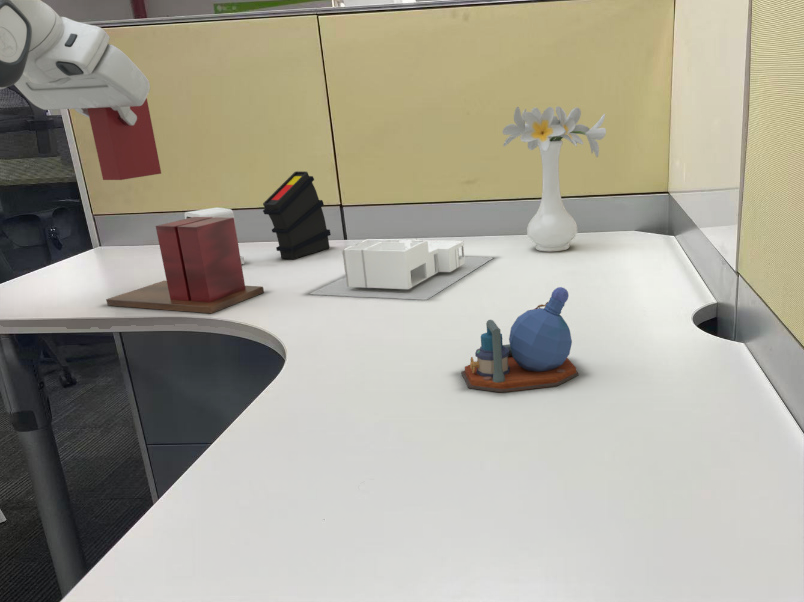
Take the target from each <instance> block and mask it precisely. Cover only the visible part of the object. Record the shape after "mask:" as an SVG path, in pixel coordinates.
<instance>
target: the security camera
mask: <svg viewBox="0 0 804 602" xmlns="http://www.w3.org/2000/svg"><path fill="white" fill-rule="evenodd" d="M191 217H213V218H214V217H226V218H234V222H235V223H236V219H235V213H234V211H233V209H231V208H224V207H211V208H203V209H199V210H192V211H191V210H190V211H185V212H184V219H187V218H191ZM235 228H236V229H237V225H236V224H235ZM236 234H237V235H238V232H237V230H236ZM237 240H238V241H239V238H238V236H237ZM240 258H241V264H242V265H245V264H246V263H245V257H244V256H242V255H240Z"/></svg>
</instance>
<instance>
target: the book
mask: <svg viewBox="0 0 804 602" xmlns="http://www.w3.org/2000/svg"><path fill="white" fill-rule="evenodd" d="M87 109H88V113H89V118H88V119H89V122H90V127H91V131H92V137H93V140H94V145H95V149H96V154H97V159H98V163H99V167H100V172H101V177H102V180H103V181H123V180H130V179H136V178H143V177H148V176H154V175H155V176H156V175H161V174H162V169H161V164H160V159H159V154H158V148H157V144H156V139H155V133H154V127H153V123H152V122H153V121H152V118H151V112H150V108H149V103H148V97H147V98H146V99H145V101H144V103H143V104H142V105H141V106H130V110H131V111H132V112H133V113H134V114H135V115H136V116H137V120H136V122H135V124H134V125H130V126H125V125H123V124H122V122H120V121H119V120H118V119H117V118H118V116H119V113H118V111H117V110H113V109H112V108H111V107H105V108H87Z"/></svg>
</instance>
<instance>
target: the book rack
mask: <svg viewBox="0 0 804 602" xmlns="http://www.w3.org/2000/svg"><path fill="white" fill-rule="evenodd" d="M234 219H235V217H234V218H226V217H214V218H213V217H191V218H187V219H185V218H184V219H180V220H175V221H171V222H166V223H163V224H158V225H155V230H156V235H157V240H158V244H159V249H160V250H159V251H160V256H161V260H162V264H163V270H164V273H165V274H164V275H165V279H166V280H162V281H159V282H156V283H151V284H150V285H146V286H143V287H140V288H137V289H134V290H131V291H127V292H124V293H121V294H118V295H115V296H111V297H108V298H106V305H107V306H110V307H124V308H137V309H150V310H162V311H175V312H188V313H189V312H190V313H199V314H200V313H201V314H214V313H216V312H218V311H219V312H220V311H221V310H223V309H226V308H229V307H231V306H234V305H237V304H239V303H240V302H244V301H247V300H249V299H252V298H254V297H256V296H259V295H262V294H264V293H265V291H264V286H261V285H260V286H259V285H246V283H245V277H244V272H243V264H241V258H240V256H241V253H240V247H239V239H238V240H237V237H238V233H237V234H236V231H237V227H236V228H235V225H236V221H235V222H234Z"/></svg>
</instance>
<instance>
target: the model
mask: <svg viewBox="0 0 804 602" xmlns="http://www.w3.org/2000/svg"><path fill="white" fill-rule="evenodd" d="M568 300H569V292H568V289H566V288H565V287H562V286H557V287H556V288H555V289H553V291H552V292H551V295H550V297H549V300H548V301H546V302H545V304H538V305H537V306H536V307H535V308H532V309H529V310H526V311H525V312H523V313H522V314H520V315H519V316H517V317H516V319H515V321H514V322H513V324H512V325H511V327H510V332H509V337H508V341H509V344H503V333H501V329H500V328H499V326H498V325H497V324H496V322H495V321H494V320H493V319H488V320H487V321H486V323H485V325H486V332H484V333H481V334H480V347H479V348H477V349H475V353H474V354H475V355H474V356H475V357H476V359H477V360H476V361H474V357H473V356H470V362H469V364H467V365H465V366H464V370H461V372H460V374H461V377H463V380H464V382H465V384H466V386H467V388H468V389H474V390H481V391H487V392H493V393H507V392H508V393H510V392H518V391H526V390H535V389H543V388H552V387H558V386H560V385H562V384H564V383H566V382H568V381H570V380H572V379H574V378H576V377H577V376H579V371H578V370H577V367H576V366H575V364H574V363H573V362H572V361H571V360H570V359H569V358H568V357H569V356H570V353H571V348H572V345H573V340H572V334H571V330H570V327H569V325H568V323H567V322H566V321H565V319H564V317H563V316H562V315H561V314H562V310H563V308H564V307H565V305H566V302H567V301H568ZM543 307H544V308H543Z"/></svg>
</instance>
